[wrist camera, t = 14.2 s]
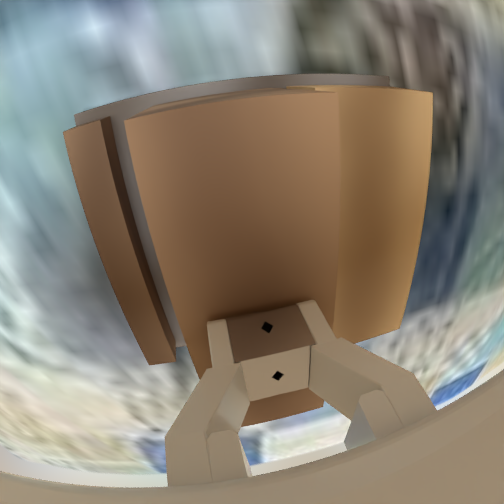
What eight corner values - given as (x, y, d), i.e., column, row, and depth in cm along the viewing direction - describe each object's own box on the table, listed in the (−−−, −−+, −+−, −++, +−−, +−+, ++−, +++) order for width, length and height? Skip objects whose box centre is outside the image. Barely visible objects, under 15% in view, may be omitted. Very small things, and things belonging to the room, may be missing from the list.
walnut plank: (269, 87, 11) (337, 92, 6) (286, 319, 17) (322, 406, 12) (154, 105, 10) (123, 120, 5) (207, 335, 17) (221, 430, 12)
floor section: (377, 75, 12) (432, 80, 9) (366, 292, 19) (397, 334, 16) (81, 112, 11) (42, 125, 7) (153, 338, 17) (151, 392, 14)
